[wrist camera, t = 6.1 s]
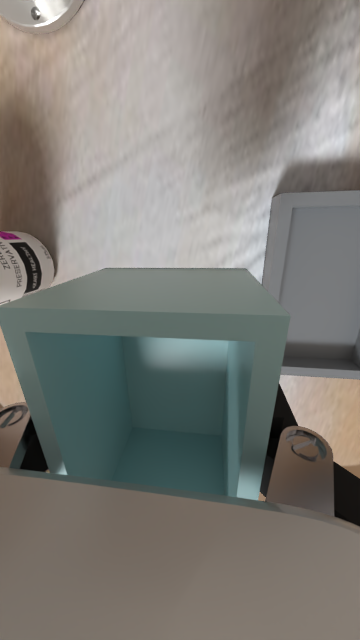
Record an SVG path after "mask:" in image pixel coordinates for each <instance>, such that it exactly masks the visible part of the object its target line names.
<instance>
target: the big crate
mask: <svg viewBox="0 0 360 640" xmlns="http://www.w3.org/2000/svg"><path fill="white" fill-rule="evenodd" d="M262 286H263V287H264V288H265V289H266V290H267V291H268V292H269V293H270V294H271V295H272V297H273V298H274V299H275V300H276V301H277V302H278V303H279V304H280V305H281V306H282V307H283V308H284V309H285V310H286V311H287V312H288V313H289V314H290V316H291V317H290V323H289V328H288V334H287V340H286V345H285V351H284V356H283V362H282V368H281V373H280V375H294V376H310V377H326V378H343V379H359V380H360V190H353V191H325V192H297V193H281V194H279V195H277V196H275V197H274V198H272V203H271V211H270V220H269V228H268V236H267V245H266V253H265V261H264V270H263V278H262Z"/></svg>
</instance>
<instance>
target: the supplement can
mask: <svg viewBox="0 0 360 640" xmlns="http://www.w3.org/2000/svg"><path fill="white" fill-rule="evenodd" d="M53 278H54V266H53V260H52V258H51V256H50V254H49V252H48V250H47V249H46V248H45V246H44V245H43V244H42V243H41V242H40V241H39V240H38V239H36V238H35V237H33V236H31V235H30V234H27V233H23V232H18V231H0V305H2V304H5V303H8V302H11V301H14V300H16V299H19V298H22V297H25V296H28V295H31V294H34V293H36V292H39V291H42V290H45V289H48V288H49V287H50V285H51V283H52V282H53Z"/></svg>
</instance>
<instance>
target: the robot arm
mask: <svg viewBox="0 0 360 640" xmlns="http://www.w3.org/2000/svg"><path fill="white" fill-rule="evenodd" d="M83 1H84V0H0V16H1V17H2V18H3V19H4V20H6V21H7V22H8V23H9V24H11V25H12V26H14V27H16V28H18V29H20V30H22V31H24V32H28V33H32V34H47V33H50V32H53V31H55V30H58V29H59V28H61V27H62V26H64V25H65V24H66V23H68V22H69V21H70V20H71V18H72V17H73V16H74V15H75V14H76V13H77V11H78V10H79V8H80V6H81V4H82V3H83ZM260 492H261V493H262V494H263V495H264V496H265V497H266V500H265V502H264V501H258V500H251V499H245V498H238V497H232V496H225V495H217V494H210V493H202V492H195V491H187V490H180V489H172V488H165V487H158V486H150V485H142V484H134V483H127V482H119V481H111V480H103V479H95V478H87V477H80V476H72V475H64V474H55V473H50V471H49V468H48V465H47V462H46V459H45V456H44V453H43V450H42V447H41V444H40V441H39V439H38V436H37V433H36V430H35V427H34V424H33V421H32V418H31V415H30V412H29V409H28V406H27V403H25V402H20V403H15V404H11V405H8V406H6V407H3V408H2V409H0V640H360V479H359V478H358V477H356V476H355V475H353V474H352V473H350V472H349V471H347V470H346V469H344V468H343V467H341V466H340V465H338V464H337V463H335V462H334V461H333V453H332V449H331V447H330V446H329V444H328V442H327V441H326V440H325V439H324V438H323V437H322V436H320V435H319V434H317V433H316V432H314V431H312V430H310V429H308V428H305V427H301V426H298V424H297V422H296V420H295V418H294V415H293V413H292V411H291V409H290V406H289V404H288V402H287V400H286V398H285V395H284V393H283V391H282V389H281V386H280V384H278V390H277V396H276V401H275V407H274V413H273V418H272V424H271V429H270V435H269V441H268V446H267V452H266V457H265V463H264V469H263V474H262V480H261V486H260Z"/></svg>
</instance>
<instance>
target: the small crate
mask: <svg viewBox="0 0 360 640" xmlns="http://www.w3.org/2000/svg"><path fill="white" fill-rule="evenodd" d="M290 317H291V316H290V314H289V313H288V312H287V311H286V310H285V309H284V308H283V307H282V306H281V305H280V304H279V303H278V302H277V301H276V300H275V299H274V298H273V297H272V295H271V294H270V293H269V292H268V291H267V290H266V289H265V288H264V287H263V286H262V285H261V284H260V283H259V282H258V281H257V280H256V279H255V278H254V276H253V275H252V274H251V273H250V272H249V271H248V270H247V269H237V268H105V269H102V270H99V271H96V272H93V273H91V274H88V275H85V276H82V277H79V278H76V279H73V280H71V281H68V282H65V283H62V284H59V285H56V286H53V287H51V288H48V289H45V290H42V291H39V292H36V293H34V294H31V295H28V296H25V297H22V298H19V299H16V300H14V301H11V302H8V303H5V304H2V305H0V326H1V329H2V332H3V335H4V338H5V341H6V344H7V346H8V349H9V352H10V355H11V358H12V361H13V364H14V367H15V370H16V373H17V376H18V379H19V382H20V385H21V388H22V391H23V394H24V397H25V400H26V403H27V406H28V409H29V412H30V415H31V418H32V421H33V424H34V427H35V430H36V433H37V436H38V439H39V441H40V444H41V447H42V450H43V453H44V456H45V459H46V462H47V465H48V468H49V471H50V473H55V474H64V475H72V476H80V477H87V478H95V479H103V480H111V481H119V482H127V483H134V484H142V485H150V486H158V487H165V488H172V489H180V490H187V491H195V492H202V493H210V494H217V495H225V496H232V497H238V498H245V499H251V500H258V497H259V491H260V486H261V480H262V474H263V469H264V463H265V457H266V452H267V446H268V441H269V435H270V429H271V424H272V418H273V413H274V407H275V401H276V396H277V390H278V384H279V379H280V373H281V368H282V362H283V356H284V351H285V345H286V340H287V334H288V328H289V323H290Z"/></svg>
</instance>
